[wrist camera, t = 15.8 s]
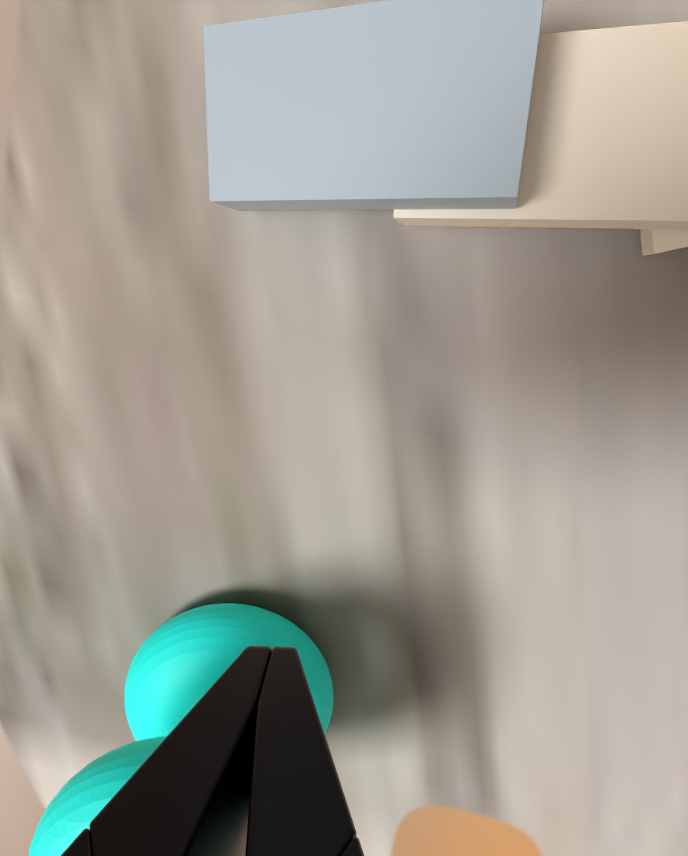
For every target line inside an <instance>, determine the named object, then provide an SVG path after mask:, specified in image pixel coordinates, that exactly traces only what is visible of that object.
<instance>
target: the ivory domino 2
mask: <svg viewBox="0 0 688 856" xmlns="http://www.w3.org/2000/svg"><path fill="white" fill-rule="evenodd" d="M640 233H641V246H642V256H646V255H652V254H657V253H661V252H666V251H670V250H675V249H679V248H684V247H688V230H672V229H640Z"/></svg>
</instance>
